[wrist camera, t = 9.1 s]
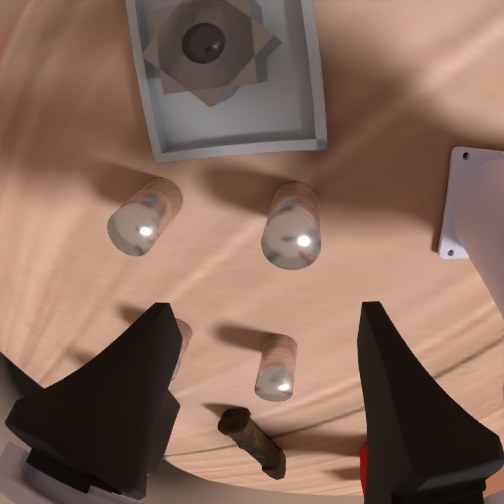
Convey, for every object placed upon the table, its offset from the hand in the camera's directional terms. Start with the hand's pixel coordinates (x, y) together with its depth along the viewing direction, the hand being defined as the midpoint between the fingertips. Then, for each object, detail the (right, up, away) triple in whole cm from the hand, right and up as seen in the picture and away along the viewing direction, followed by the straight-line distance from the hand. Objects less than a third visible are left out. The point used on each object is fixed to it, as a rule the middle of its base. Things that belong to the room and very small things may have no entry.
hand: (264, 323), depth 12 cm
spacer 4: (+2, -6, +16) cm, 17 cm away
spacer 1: (-7, +6, +10) cm, 13 cm away
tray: (-2, +14, +3) cm, 15 cm away
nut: (-2, +14, +3) cm, 14 cm away
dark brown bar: (+2, -23, +28) cm, 37 cm away
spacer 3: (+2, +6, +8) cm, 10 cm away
